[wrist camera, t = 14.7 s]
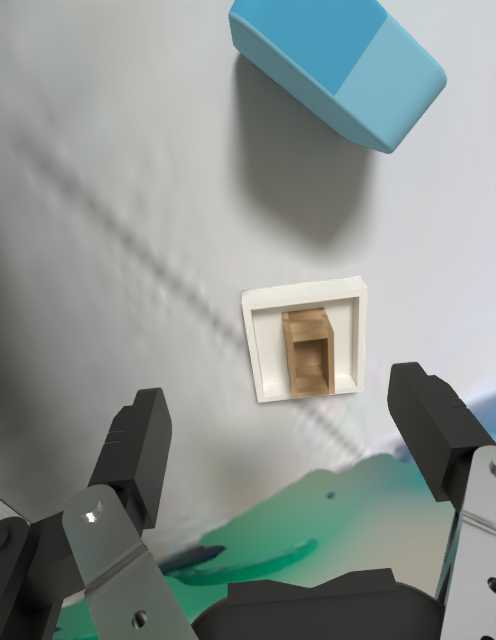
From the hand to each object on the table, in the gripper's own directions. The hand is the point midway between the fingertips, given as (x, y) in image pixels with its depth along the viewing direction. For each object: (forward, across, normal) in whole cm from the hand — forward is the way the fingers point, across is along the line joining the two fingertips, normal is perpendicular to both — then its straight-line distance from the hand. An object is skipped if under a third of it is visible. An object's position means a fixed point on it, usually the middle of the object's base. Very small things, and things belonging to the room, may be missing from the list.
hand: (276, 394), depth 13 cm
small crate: (+24, -5, +15) cm, 29 cm away
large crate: (+25, -5, +15) cm, 30 cm away
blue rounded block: (+25, -6, -11) cm, 28 cm away
